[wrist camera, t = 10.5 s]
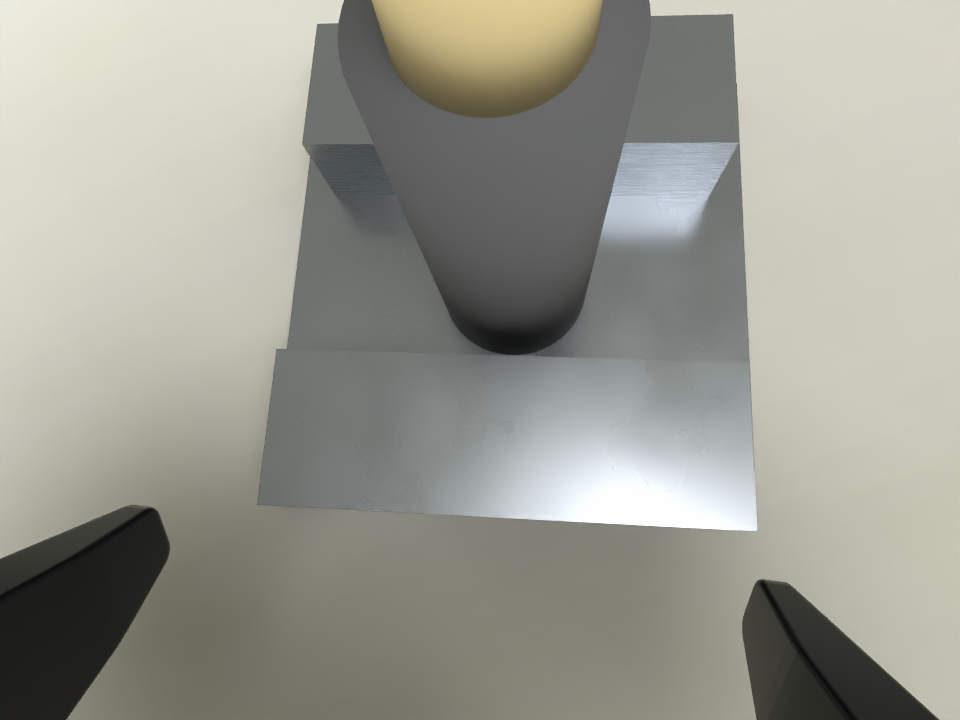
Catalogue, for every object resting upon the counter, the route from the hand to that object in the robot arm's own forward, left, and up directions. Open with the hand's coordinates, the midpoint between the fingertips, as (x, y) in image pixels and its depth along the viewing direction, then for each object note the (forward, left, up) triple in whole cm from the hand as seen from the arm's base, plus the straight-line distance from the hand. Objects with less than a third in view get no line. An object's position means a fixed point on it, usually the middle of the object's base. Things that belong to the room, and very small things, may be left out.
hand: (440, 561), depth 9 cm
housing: (+8, -1, -9) cm, 12 cm away
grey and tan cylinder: (+8, -1, -9) cm, 12 cm away
